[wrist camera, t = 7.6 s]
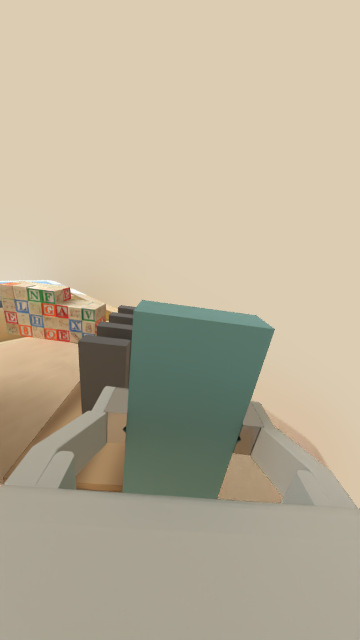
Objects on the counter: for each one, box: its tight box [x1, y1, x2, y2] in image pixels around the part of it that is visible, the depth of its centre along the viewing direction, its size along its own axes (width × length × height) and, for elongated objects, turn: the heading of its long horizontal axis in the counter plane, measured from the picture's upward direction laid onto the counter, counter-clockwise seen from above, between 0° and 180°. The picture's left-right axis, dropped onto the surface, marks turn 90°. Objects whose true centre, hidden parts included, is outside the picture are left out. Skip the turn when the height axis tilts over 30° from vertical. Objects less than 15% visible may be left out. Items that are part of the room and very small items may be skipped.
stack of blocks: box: [0, 281, 106, 343], centre depth 44 cm, size 21×6×12 cm, turn 88°
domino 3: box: [78, 335, 130, 414], centre depth 21 cm, size 5×2×12 cm, turn 91°
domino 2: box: [96, 322, 133, 389], centre depth 26 cm, size 5×2×12 cm, turn 91°
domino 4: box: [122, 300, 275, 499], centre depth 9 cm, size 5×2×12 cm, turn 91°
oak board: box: [3, 381, 125, 492], centre depth 28 cm, size 14×22×1 cm, turn 1°
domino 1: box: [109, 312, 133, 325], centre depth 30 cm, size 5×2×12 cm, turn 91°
